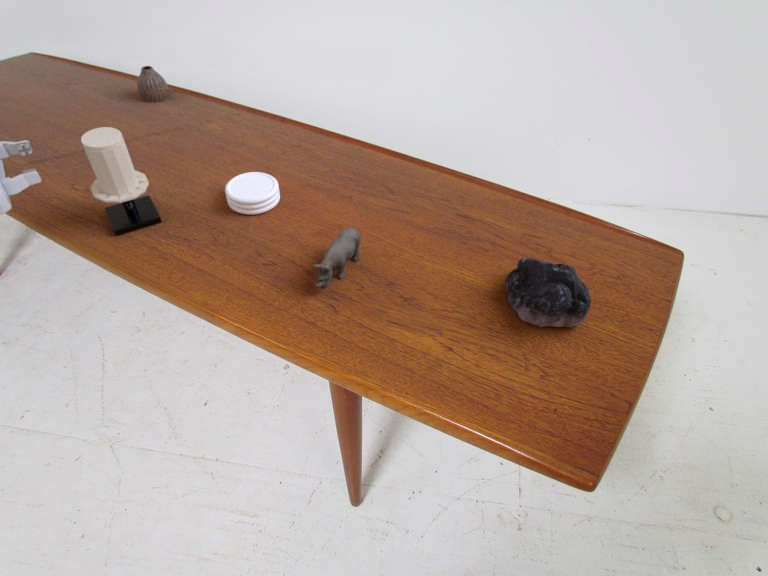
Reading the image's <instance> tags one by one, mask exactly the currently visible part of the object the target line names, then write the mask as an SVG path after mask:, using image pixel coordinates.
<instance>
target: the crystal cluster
mask: <svg viewBox="0 0 768 576" xmlns="http://www.w3.org/2000/svg"><path fill="white" fill-rule="evenodd" d="M503 288H504V290H505V292H506V293H507V300H508V303H509V305H510V307H511V308H512V310H513V311H514V312H516V313H517V315H518V317H519V319H520V320H522V321H523V322H526V323H529V324H531V325H534V326H536V327H540V328H543V327H556V328H563V327H564V328H573V327H576V326H578V325H581V324H582V323H584V321H585V319H586V317H587V315H588V313H589V311H590V309H591V304H592V298H591V294H590V289H589V288H588V286H587V285H586V283H585V282H584V281H582V280H581V278H580V277H579V276H578V274H577V271H576V268H575V267H573V266H572V265H567V264H564V263H552V262H548V261H542V260H538V259H536V258H532V257H522V258H520V259H519V260H518V261H517V266H516V267H515V268H514V269H512V270H511V271H509V273H508V274H507V276H506V277H505V281H504V284H503Z"/></svg>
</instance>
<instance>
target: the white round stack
mask: <svg viewBox="0 0 768 576" xmlns="http://www.w3.org/2000/svg"><path fill="white" fill-rule="evenodd" d="M279 185H280V184H279V182H278V180H277V178H275V177H274V176H272V175H271V174H268V173H265V172H261V171H249V172H245V173H244V172H243V173H240V174H238V175H235V176H234V177H232V178H231V179H229V181H228V182H227V183H226V185H225V187H224V193H225V196H226V197H225V198H226V201H227V205H228V206H229V208H230V209H231V210H232V211H233V212H236V213H238V214H242V215H247V216H253V215H261V214H265V213H267V212H269V211H270V210H272V209H274V208H275V207H276V206H277V205H278V204H279V203H280V200H281V193H280V186H279Z"/></svg>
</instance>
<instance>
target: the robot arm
mask: <svg viewBox="0 0 768 576" xmlns="http://www.w3.org/2000/svg"><path fill="white" fill-rule="evenodd" d="M32 154H34V150H33V146H32V144H31V143H30V141H29V140H25V139H24V140H20V141H6V140H2V141H1V140H0V216H1V215H5V214H6V213H8V212H9V211H11V210H12V208H13V206H12V201H11V197H10V196H14V195H17V194H19V193H21V192H22V191H24V190H25V189H28V187H30V186H33V185H37V184H40V183H42V177H41V175H40V173H39V171H38V169H37V168H34V167H33V168H30V169H24V170H22V173H20V174H18V175H16V176H15V175H14V176H13V177H10V176H6V172H5V168H4V167H5V166H4V162H3V159H6V158H9V157H10V156H16V155H17V156H18V155H20V156H21V157H25V156H28V155H32Z"/></svg>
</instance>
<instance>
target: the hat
mask: <svg viewBox="0 0 768 576" xmlns="http://www.w3.org/2000/svg"><path fill="white" fill-rule="evenodd" d="M80 142H81V145H82V147H83V149H84V151H85V154H86V156H87V158H88V161H89V163H90V166H91V168H92V170H93V173H94V176H95V179H94V181H93V182H92V185H91V186H90V190H91V192H92V195H93V198H94V199H96V200H99V201H100V202H103V203H104V204H105V203H106V204H107V203H109V204H120V203H122V202H126V201H129V200H134V199H138V198H139V197H140V196H142V195H143V194H145V193H146V191H147V189H148V187H149V185H150V182H149V179H148V178H147V176H146V174H145V173H143V172H140V171H138V170H136V169H135V167H134V164H133V162H132V158H131V155H130V152H129V150H128V147H127V144H126V140H125V139H124V137H123V134H122V132H121V131H120V130H119V129H117V128H115V127H109V126H104V127H96V128H92V129H90V130H88V131H85V132H84V133H83V134H82V136H81V138H80Z"/></svg>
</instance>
